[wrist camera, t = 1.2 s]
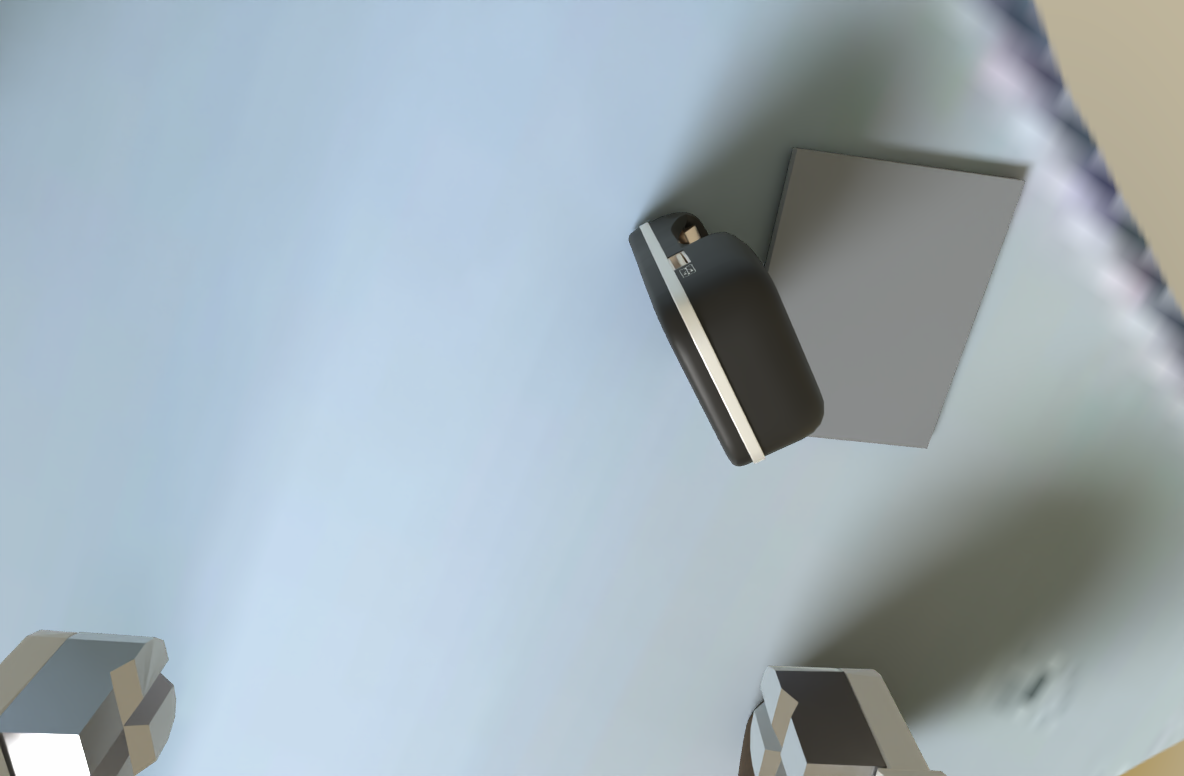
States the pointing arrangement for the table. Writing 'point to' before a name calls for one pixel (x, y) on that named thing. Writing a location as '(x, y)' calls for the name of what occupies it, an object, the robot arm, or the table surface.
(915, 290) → the mat
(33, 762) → the robot arm
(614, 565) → the table surface
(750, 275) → the battery charger
